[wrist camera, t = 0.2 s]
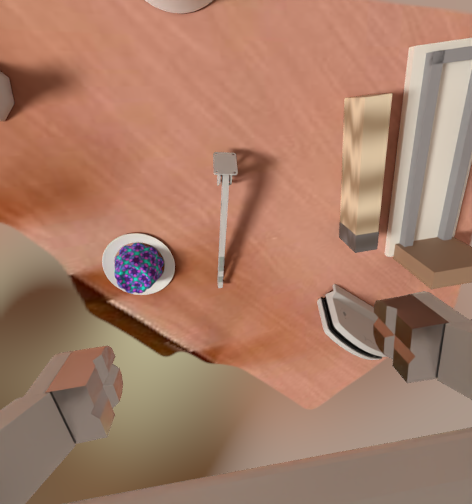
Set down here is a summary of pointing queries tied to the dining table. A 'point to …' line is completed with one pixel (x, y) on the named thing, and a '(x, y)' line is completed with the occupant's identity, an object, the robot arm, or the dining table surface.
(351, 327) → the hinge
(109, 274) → the pudding
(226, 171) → the bracket
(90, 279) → the dining table surface
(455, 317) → the robot arm
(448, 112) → the slot board
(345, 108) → the wooden block
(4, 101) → the flask
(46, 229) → the dining table surface
